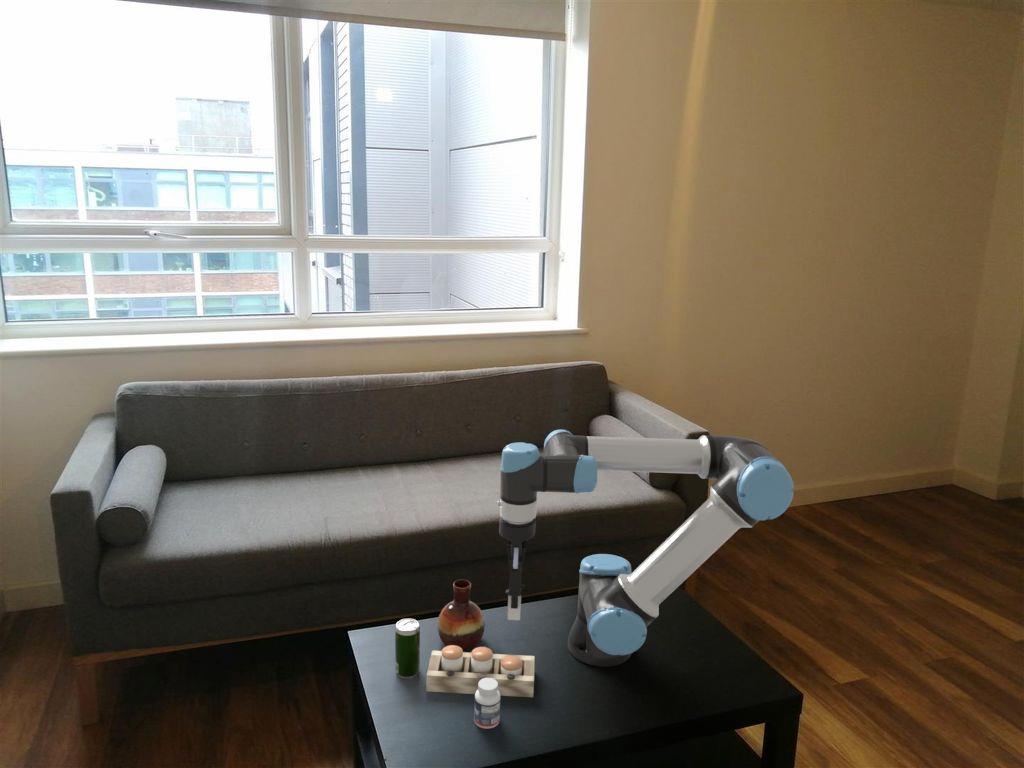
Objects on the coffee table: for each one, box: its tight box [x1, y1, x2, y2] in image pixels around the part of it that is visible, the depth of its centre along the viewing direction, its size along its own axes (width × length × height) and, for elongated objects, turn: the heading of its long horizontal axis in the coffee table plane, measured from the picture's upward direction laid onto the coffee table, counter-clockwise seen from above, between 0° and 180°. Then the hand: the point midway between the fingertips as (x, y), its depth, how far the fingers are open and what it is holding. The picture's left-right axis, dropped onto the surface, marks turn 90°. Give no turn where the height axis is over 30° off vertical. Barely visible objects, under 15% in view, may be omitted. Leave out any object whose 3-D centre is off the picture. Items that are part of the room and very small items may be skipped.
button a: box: [501, 656, 522, 676], centre depth 174 cm, size 5×5×4 cm
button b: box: [471, 646, 494, 674], centre depth 174 cm, size 5×5×4 cm
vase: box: [437, 578, 486, 652], centre depth 188 cm, size 11×11×15 cm
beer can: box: [394, 618, 421, 680], centre depth 176 cm, size 5×5×12 cm
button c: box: [441, 645, 464, 672], centre depth 174 cm, size 5×5×4 cm
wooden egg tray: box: [425, 650, 535, 698], centre depth 175 cm, size 23×9×4 cm, turn 88°
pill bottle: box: [473, 678, 501, 730], centre depth 162 cm, size 5×5×9 cm
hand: (513, 618), depth 171 cm, fingers closed
